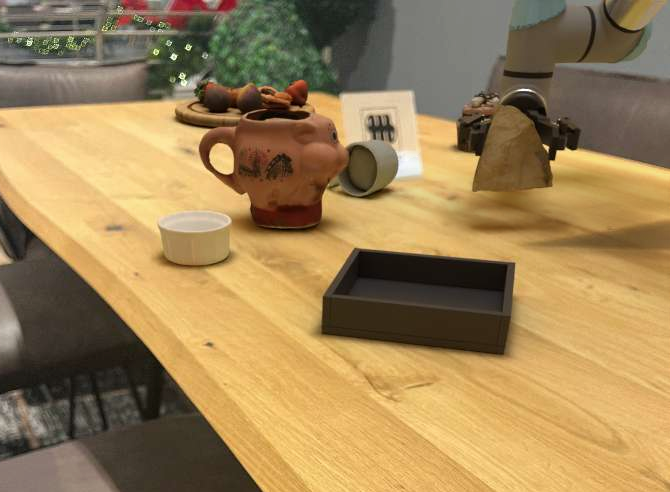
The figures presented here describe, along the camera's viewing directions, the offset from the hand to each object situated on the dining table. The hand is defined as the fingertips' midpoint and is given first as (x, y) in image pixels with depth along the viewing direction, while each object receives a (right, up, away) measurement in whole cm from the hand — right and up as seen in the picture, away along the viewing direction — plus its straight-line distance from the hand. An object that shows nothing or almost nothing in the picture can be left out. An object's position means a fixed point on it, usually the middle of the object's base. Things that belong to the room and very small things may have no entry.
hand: (516, 146), depth 95 cm
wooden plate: (-39, +44, +80) cm, 99 cm away
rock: (+1, -3, +7) cm, 8 cm away
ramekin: (-40, -14, -1) cm, 42 cm away
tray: (-15, -25, -16) cm, 33 cm away
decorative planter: (-31, -6, +11) cm, 33 cm away
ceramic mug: (-18, +5, +26) cm, 32 cm away
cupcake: (+8, +25, +54) cm, 60 cm away
